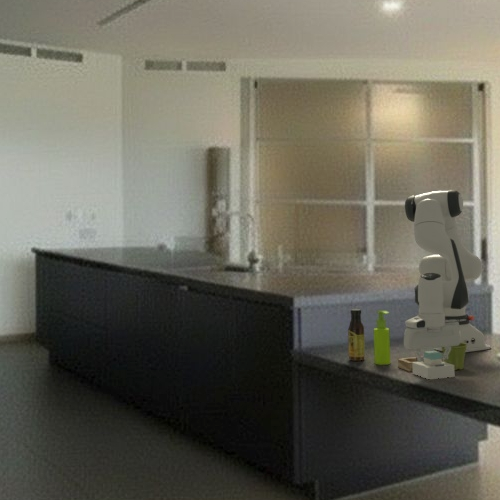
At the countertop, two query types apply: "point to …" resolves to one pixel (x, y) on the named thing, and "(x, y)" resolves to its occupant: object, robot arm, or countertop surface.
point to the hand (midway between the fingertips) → (432, 360)
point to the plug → (432, 358)
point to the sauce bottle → (356, 336)
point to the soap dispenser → (381, 341)
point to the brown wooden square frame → (407, 363)
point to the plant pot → (456, 356)
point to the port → (433, 370)
